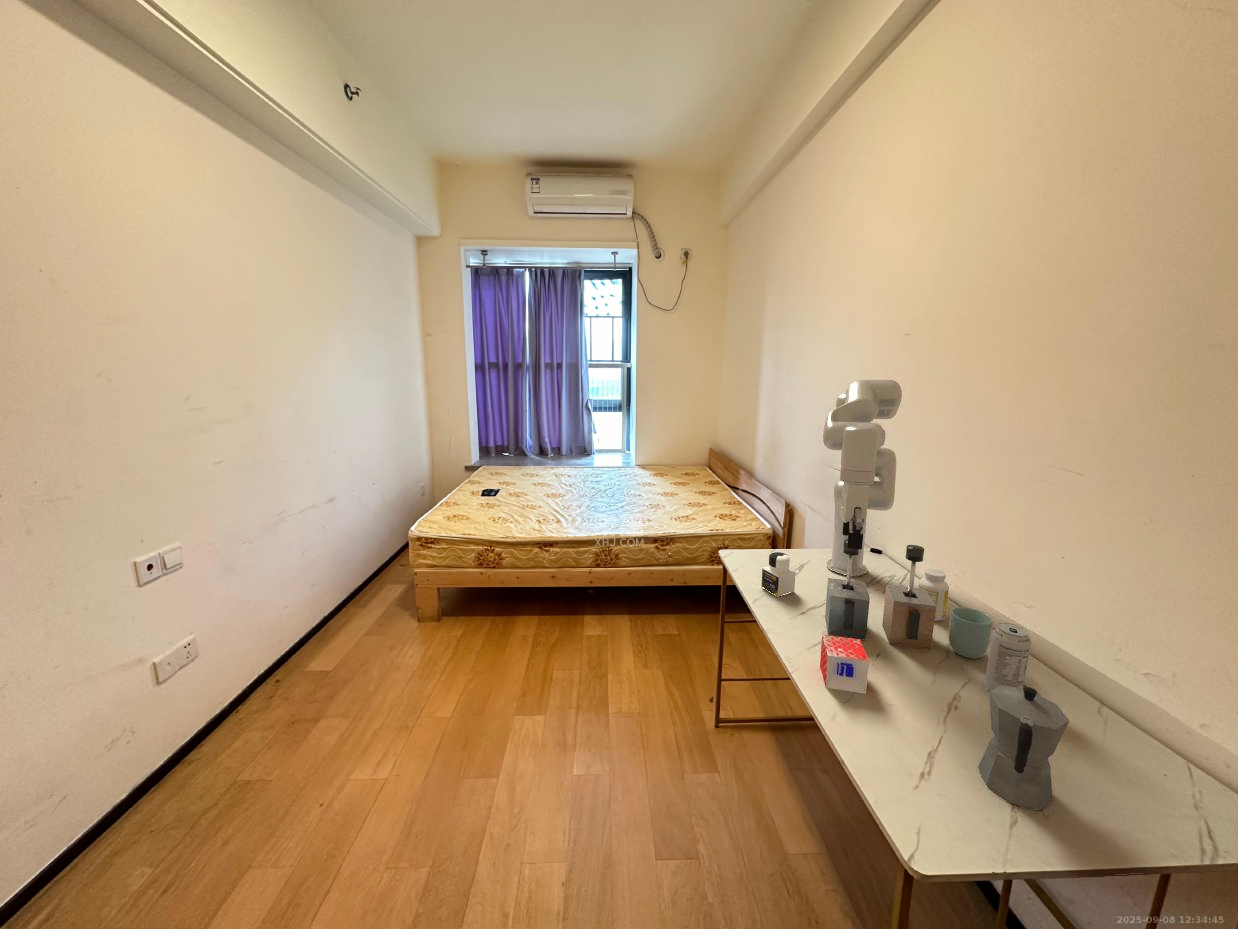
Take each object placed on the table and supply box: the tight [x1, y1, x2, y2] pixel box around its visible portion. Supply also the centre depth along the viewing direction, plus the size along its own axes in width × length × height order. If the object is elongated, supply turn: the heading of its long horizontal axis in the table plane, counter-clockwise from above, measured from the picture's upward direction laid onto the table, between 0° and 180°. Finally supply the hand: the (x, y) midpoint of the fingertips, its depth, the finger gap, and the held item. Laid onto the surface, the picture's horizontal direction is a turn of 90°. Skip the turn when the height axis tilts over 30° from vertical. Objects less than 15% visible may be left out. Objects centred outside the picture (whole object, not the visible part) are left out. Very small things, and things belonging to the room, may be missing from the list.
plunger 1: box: [843, 539, 859, 590], centre depth 116 cm, size 6×6×16 cm
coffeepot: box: [977, 684, 1070, 811], centre depth 71 cm, size 15×9×18 cm, turn 137°
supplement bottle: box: [918, 568, 950, 622], centre depth 123 cm, size 7×7×13 cm
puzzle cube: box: [819, 634, 870, 695], centre depth 100 cm, size 8×8×8 cm
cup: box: [947, 606, 994, 659], centre depth 107 cm, size 8×8×10 cm
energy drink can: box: [984, 622, 1032, 693], centre depth 93 cm, size 6×6×15 cm
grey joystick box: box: [824, 577, 871, 641], centre depth 118 cm, size 10×9×12 cm
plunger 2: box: [905, 544, 925, 598], centre depth 111 cm, size 6×6×16 cm
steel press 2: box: [881, 584, 936, 651], centre depth 113 cm, size 10×9×12 cm
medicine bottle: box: [761, 551, 797, 597], centre depth 140 cm, size 7×7×12 cm
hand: (851, 541), depth 114 cm, fingers open, 9 cm apart
